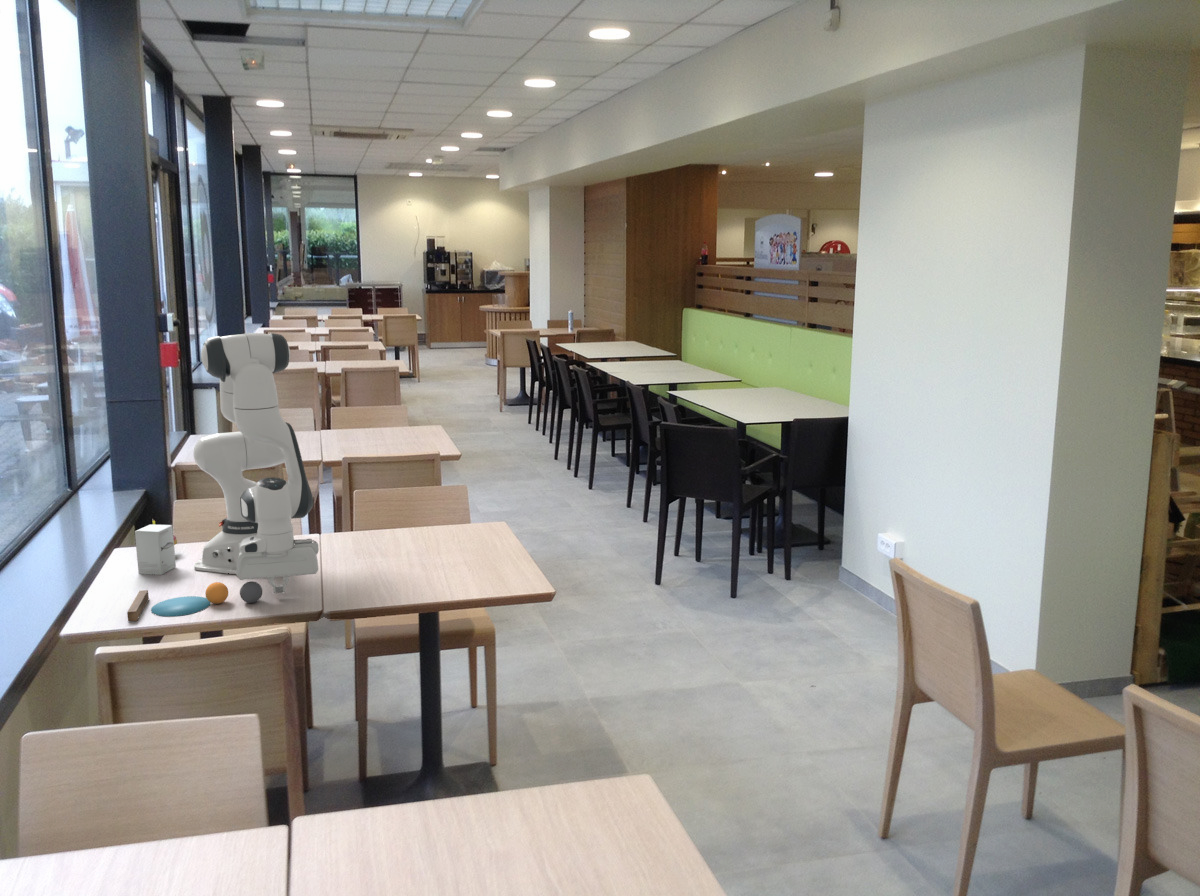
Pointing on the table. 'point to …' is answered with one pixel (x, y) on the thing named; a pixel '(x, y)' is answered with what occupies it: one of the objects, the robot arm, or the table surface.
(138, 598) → the wall
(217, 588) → the orange ball
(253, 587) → the gray ball
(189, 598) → the teal mark
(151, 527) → the supplement box
